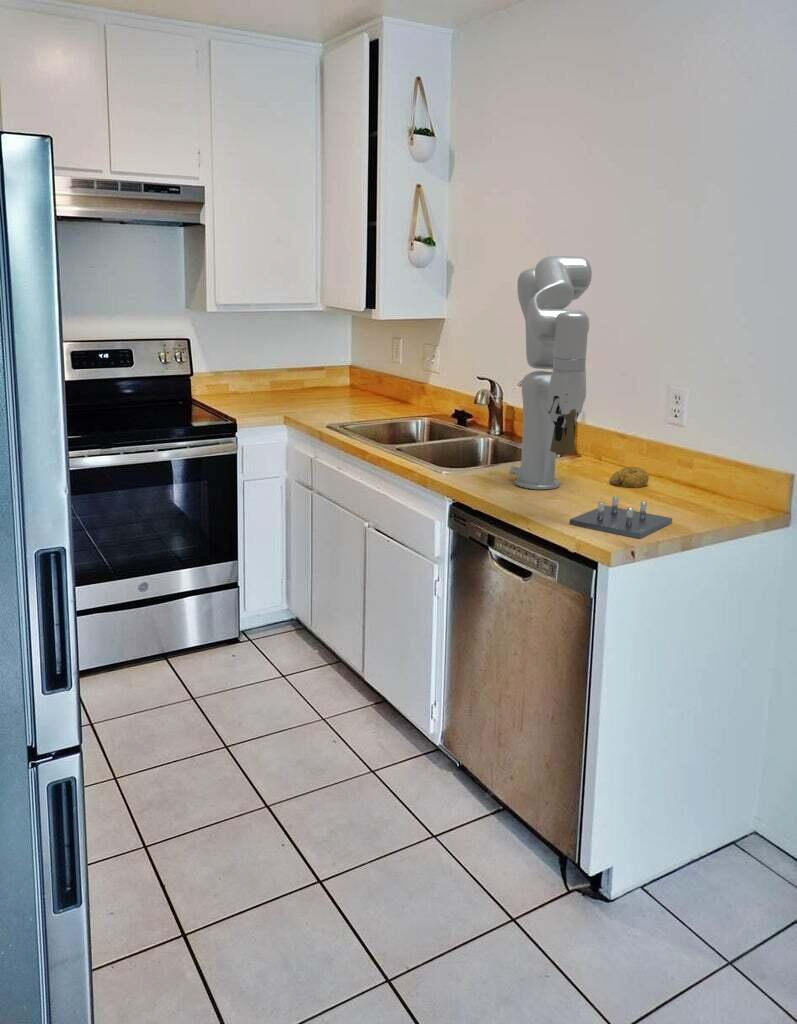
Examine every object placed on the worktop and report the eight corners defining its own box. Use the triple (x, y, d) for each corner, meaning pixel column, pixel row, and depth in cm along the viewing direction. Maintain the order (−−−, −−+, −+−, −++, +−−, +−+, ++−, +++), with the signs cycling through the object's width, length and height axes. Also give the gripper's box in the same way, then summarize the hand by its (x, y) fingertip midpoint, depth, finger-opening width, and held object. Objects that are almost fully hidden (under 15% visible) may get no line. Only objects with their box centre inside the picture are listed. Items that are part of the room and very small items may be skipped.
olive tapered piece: (572, 448, 223) (575, 403, 220) (577, 453, 217) (580, 407, 214) (548, 448, 223) (550, 403, 220) (552, 453, 217) (555, 407, 214)
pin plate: (569, 524, 218) (570, 503, 217) (604, 509, 232) (605, 489, 230) (639, 538, 207) (641, 516, 206) (671, 522, 221) (673, 502, 219)
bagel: (605, 480, 265) (606, 464, 263) (642, 481, 265) (643, 465, 264) (613, 488, 255) (615, 472, 254) (652, 489, 255) (654, 472, 254)
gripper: (572, 361, 223) (567, 435, 228) (537, 367, 211) (532, 445, 216) (599, 364, 219) (594, 439, 224) (565, 370, 206) (560, 449, 211)
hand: (564, 441), depth 220 cm, fingers closed on olive tapered piece, 3 cm apart
